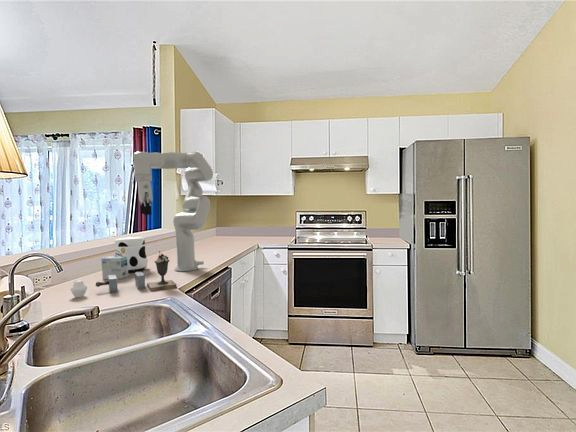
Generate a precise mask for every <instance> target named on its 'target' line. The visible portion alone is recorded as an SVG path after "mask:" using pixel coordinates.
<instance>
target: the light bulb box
mask: <svg viewBox="0 0 576 432" xmlns="http://www.w3.org/2000/svg"><path fill="white" fill-rule="evenodd" d="M101 273H102V275H101V276H102V279H103V280H106V279H107V280H108V275H116V277H117V280H119V279H121V280H122V279H124V278H125V279H126V278H127V277H129V272H128V261H127V256H115V255H114V256H113V255H112V256H109V255H108V256H105V257H101Z"/></svg>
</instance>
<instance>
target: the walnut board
mask: <svg viewBox="0 0 576 432" xmlns="http://www.w3.org/2000/svg"><path fill="white" fill-rule="evenodd" d="M165 281H166V282H169V283H168V284H163V285H159V284H157V283H159V282H161V280H160V281H151V282H147V283H146V287H147V288H148V289H149V291H150V292H157V291H163V290H169V289H177V288H178V286H177V283H175V281H174V280H173V279H167V280H165Z"/></svg>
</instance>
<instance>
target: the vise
mask: <svg viewBox="0 0 576 432" xmlns="http://www.w3.org/2000/svg"><path fill="white" fill-rule="evenodd" d="M145 279H146V277H145V274H144V272H143V271H134V280H135V288H136V289H137V290H145V289H146V280H145ZM102 286H108V290H109V294H115V293H118V292H119V290H118V279H117V277H116V275H108V279H107V281H97V282H96V283H95V287H97V288H98V287H99V288H100V287H102Z"/></svg>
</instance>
